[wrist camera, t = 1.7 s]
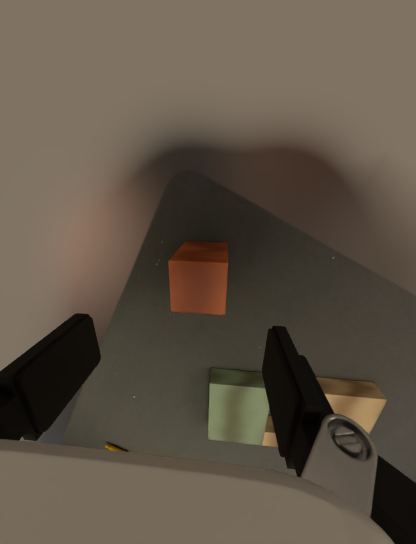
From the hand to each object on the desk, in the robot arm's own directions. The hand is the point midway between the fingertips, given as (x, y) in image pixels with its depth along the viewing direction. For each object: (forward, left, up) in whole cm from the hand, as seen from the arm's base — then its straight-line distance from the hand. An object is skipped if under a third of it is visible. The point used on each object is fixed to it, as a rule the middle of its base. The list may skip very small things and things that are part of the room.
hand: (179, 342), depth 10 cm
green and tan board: (-12, +22, -13) cm, 28 cm away
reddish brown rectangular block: (0, 0, -13) cm, 13 cm away
